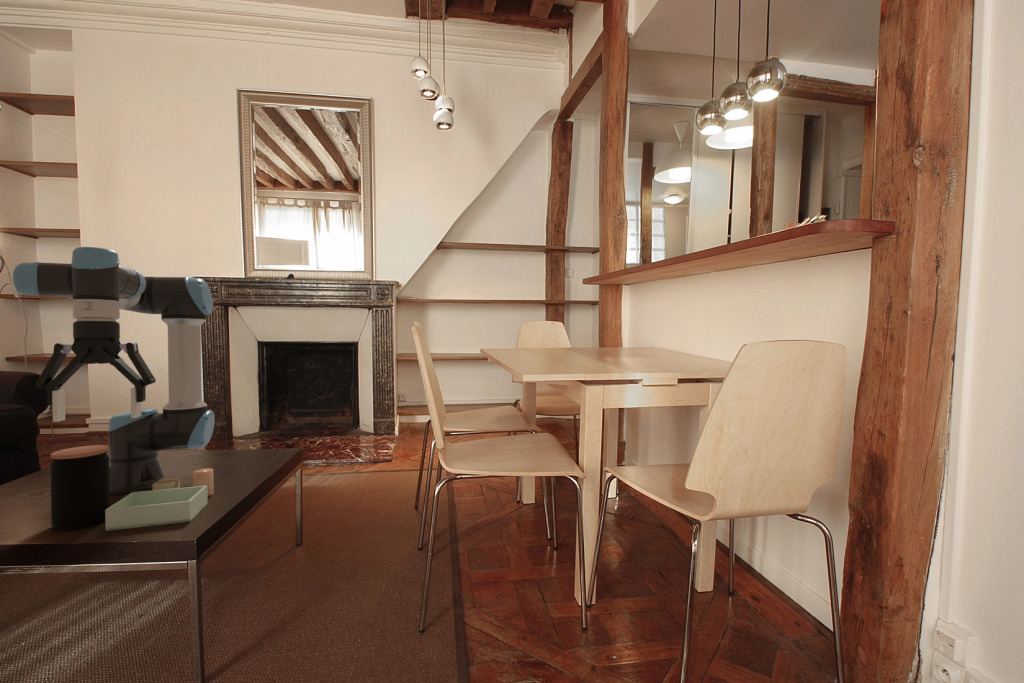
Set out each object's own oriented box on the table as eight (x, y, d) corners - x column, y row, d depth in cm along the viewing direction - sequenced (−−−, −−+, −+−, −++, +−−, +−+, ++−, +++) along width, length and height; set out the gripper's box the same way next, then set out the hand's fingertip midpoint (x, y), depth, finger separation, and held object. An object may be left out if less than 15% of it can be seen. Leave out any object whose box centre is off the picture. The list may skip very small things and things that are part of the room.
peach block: (196, 493, 136) (196, 469, 136) (215, 491, 138) (215, 467, 138) (190, 498, 132) (189, 474, 132) (210, 496, 133) (210, 472, 133)
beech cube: (160, 496, 134) (159, 479, 134) (180, 494, 135) (180, 477, 135) (152, 502, 129) (152, 484, 129) (173, 500, 130) (173, 482, 130)
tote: (132, 511, 122) (132, 492, 122) (207, 503, 127) (207, 485, 127) (105, 530, 110) (105, 509, 110) (190, 521, 115) (190, 501, 115)
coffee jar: (105, 511, 122) (104, 443, 122) (114, 521, 116) (113, 449, 115) (48, 524, 114) (47, 451, 114) (54, 535, 107) (53, 457, 107)
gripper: (10, 319, 93) (11, 425, 93) (157, 319, 100) (159, 418, 100) (35, 321, 100) (37, 419, 100) (171, 321, 107) (173, 413, 107)
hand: (98, 419), depth 100 cm, fingers open, 13 cm apart
